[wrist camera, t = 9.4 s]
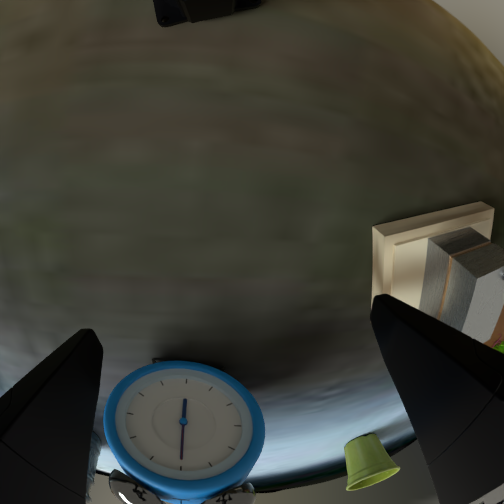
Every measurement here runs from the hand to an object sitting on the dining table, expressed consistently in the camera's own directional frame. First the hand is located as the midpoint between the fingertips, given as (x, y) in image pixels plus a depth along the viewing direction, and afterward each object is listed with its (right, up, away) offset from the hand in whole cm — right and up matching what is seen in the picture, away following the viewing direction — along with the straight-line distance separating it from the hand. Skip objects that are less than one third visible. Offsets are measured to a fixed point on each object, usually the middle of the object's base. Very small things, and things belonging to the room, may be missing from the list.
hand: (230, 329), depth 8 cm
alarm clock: (-6, -10, +18) cm, 22 cm away
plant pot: (+20, -31, +31) cm, 48 cm away
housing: (+17, 0, +12) cm, 21 cm away
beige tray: (+17, +1, +14) cm, 22 cm away
